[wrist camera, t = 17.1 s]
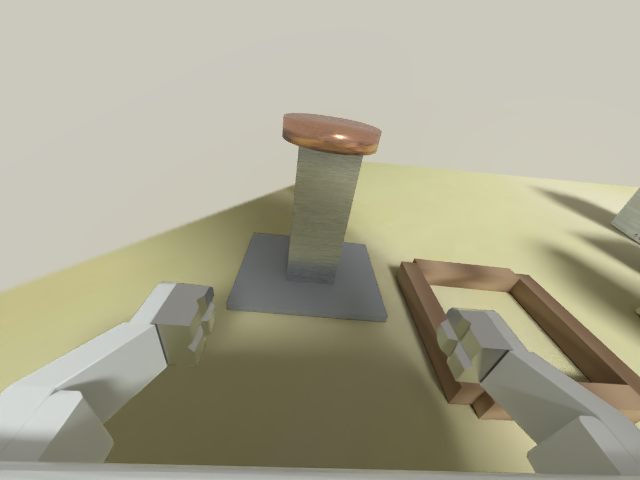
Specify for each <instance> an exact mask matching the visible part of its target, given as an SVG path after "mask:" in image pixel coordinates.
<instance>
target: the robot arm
mask: <svg viewBox="0 0 640 480" xmlns="http://www.w3.org/2000/svg"><path fill="white" fill-rule="evenodd" d="M213 296H214V292H213V287H211V286H202V285H193V284H184V283H172V282H164V281H163V282H161V283H159V284H158V285H157V286H156V287H155V289H154V290H153V291H152V293H151V294H150V295H149V296H148V298H147V299H146V300H145V302H144V303H143V304H142V306H141V307H140V308H139V310H138V311H137V312H136V314H135V315H134V316H133V317H132V319H131V320H130V321H129V323H127V322H123V323H121V324H119V325H117V326H116V327H114V328H112V329H110V330H108V331H107V332H105V333H103V334H101V335H99V336H98V337H96V338H94V339H92V340H90V341H89V342H87V343H85V344H83V345H81V346H80V347H78V348H76V349H74V350H72V351H71V352H69V353H67V354H65V355H63V356H62V357H60V358H58V359H56V360H54V361H53V362H51V363H49V364H47V365H45V366H43V367H42V368H40V369H38V370H36V371H34V372H33V373H31V374H29V375H27V376H25V377H24V378H22V379H20V380H18V381H16V382H15V383H13V384H11V385H9V386H8V387H7V388H6V389H5V390H4V391H3V392H2V393H1V394H0V480H640V430H639V429H638V428H637V427H636V426H635V425H634V423H633V422H632V421H631V420H630V419H629V418H628V417H627V416H626V415H624V414H623V413H621V412H620V411H618V410H617V409H615V408H614V407H612V406H611V405H609V404H608V403H607V402H605V401H604V400H602V399H601V398H599V397H598V396H596V395H595V394H593V393H592V392H591V391H589V390H588V389H586V388H585V387H583V386H582V385H580V384H579V383H577V382H576V381H574V380H573V379H572V378H570V377H569V376H567V375H566V374H564V373H563V372H561V371H560V370H558V369H557V368H556V367H554V366H553V365H551V364H550V363H548V362H547V361H545V360H544V359H542V358H541V357H539V356H538V355H537V354H535V353H534V352H529V351H528V350H527V349H526V347H525V346H524V345H523V344H522V342H521V341H520V340H519V339H518V337H517V336H516V335H515V334H514V332H513V331H512V330H511V329H510V327H509V326H508V325H507V323H506V322H505V321H504V320H503V318H502V317H501V316H500V315H499V314H498V313H497V312H495V311H490V310H477V309H464V308H451V309H449V310H448V312H447V314H446V317H447V320H445V321H444V322H442V323H441V324H440V326H439V328H438V329H437V341H438V344H439V347H440V349H441V351H443V352H444V353H445V354H446V355H447V356H448V359H447V364H448V366H449V368H450V370H451V372H452V374H453V376H454V379H455V381H458V382H469V383H481V384H480V386H481V387H482V388H483V389H484V390H485V391H486V392H487V393H488V394H489V395H490V396H491V397H492V398H493V399H494V400H495V401H496V402H497V403H498V404H499V405H500V406H501V407H502V408H503V409H504V411H505V412H506V413H507V414H508V415H509V416H510V417H511V418H512V419H513V420H514V421H515V422H516V423H517V424H518V425H519V426H520V427H521V428H522V429H523V430H524V431H525V432H526V433H527V434H528V435H529V436H530V438H531V439H532V440H533V441H534V442H535V443H536V444H537V446H535V447H534V448H532V449H531V450H530V451H528V453H527V458H528V460H529V462H530V464H531V465H532V467H533V469H534V471H535V473H501V472H460V471H419V470H378V469H337V468H296V467H254V466H212V465H171V464H129V463H104V462H105V460H106V458H107V457H108V455H109V453H110V451H111V449H112V447H113V445H114V442H113V438H112V437H111V435H110V434H109V433H108V431H107V430H106V428H105V427H104V425H103V424H104V423H105V422H106V421H108V420H109V419H110V418H111V417H112V416H113V415H114V414H115V413H116V412H118V411H119V410H120V409H121V408H122V407H123V406H124V405H125V404H126V403H128V402H129V401H130V400H131V399H132V398H133V397H134V396H135V395H136V394H138V393H139V392H140V391H141V390H142V389H143V388H144V387H145V386H146V385H148V384H149V383H150V382H151V381H152V380H153V379H154V378H155V377H156V376H158V375H159V374H160V373H161V372H162V371H163V370H164V369H165V368H166V367H167V365H186V366H197V365H198V362H199V360H200V357H201V355H202V353H203V350H204V348H205V342H204V338H205V337H207V336H208V335H209V334H210V333H211V330H212V328H213V324H214V320H215V311H216V310H215V304H214V303H213V302H212V299H213Z"/></svg>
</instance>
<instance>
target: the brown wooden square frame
mask: <svg viewBox="0 0 640 480" xmlns="http://www.w3.org/2000/svg"><path fill="white" fill-rule="evenodd" d="M396 277H397V280H398V282H399V285H400V287H401V289H402V292H403V294H404V297H405V299H406V301H407V304H408V306H409V309H410V311H411V314H412V316H413V318H414V321H415V323H416V326H417V328H418V330H419V333H420V335H421V338H422V340H423V342H424V345H425V347H426V350H427V352H428V354H429V357H430V359H431V362H432V364H433V367H434V369H435V371H436V374H437V376H438V379H439V381H440V383H441V386H442V388H443V391H444V393H445V395H446V398H447V400H448V403H449V404H469V405H473V407H474V409H475V411H476V413H477V415H478V417H479V419H495V420H513V419H512V418H511V417H510V416H509V415H508V414H507V413H506V412H505V411H504V409H503V408H502V407H501V406H500V405H499V404H498V403H497V402H496V401H495V400H494V399H493V398H492V397H491V396H490V395H489V394H488V393H487V392H486V391H485V390H484V389H483V388H482V387H481V386H480V384H481V383H469V382H458V381H455V379H454V376H453V374H452V372H451V370H450V368H449V366H448V364H447V359H448V356H447V355H446V354H445V353H444V352H443V351H441V349H440V347H439V344H438V341H437V329H438V328H439V326H440V324H441V323H442V322H444V321H445V320H447V317H446V314H445V313H444V311H443V309H442V307H441V305H440V304H439V302H438V300H437V298H436V296H435V295H434V293H433V291H432V289H431V287H430V286H429V285H438V286H449V287H459V288H470V289H480V290H490V291H501V292H510V293H511V294H512V295H513V297H514V298H515V299H516V300H517V301H518V302H519V303H520V304H521V305H522V306H523V308H524V309H525V310H526V311H527V312H528V313H529V314H530V315H531V316H532V317H533V318H534V320H535V321H536V322H537V323H538V324H539V325H540V326H541V327H542V328H543V329H544V331H545V332H546V333H547V334H548V335H549V336H550V337H551V338H552V339H553V340H554V341H555V343H556V344H557V345H558V346H559V347H560V348H561V349H562V350H563V351H564V352H565V354H566V355H567V356H568V357H569V358H570V359H571V360H572V361H573V362H574V363H575V365H576V366H577V367H578V368H579V369H580V370H581V371H582V372H583V373H584V374H585V375H586V377H587V378H588V379H589V380H590V381H591V382H592V383H588V382H577V383H579V384H580V385H582V386H583V387H585V388H586V389H588V390H589V391H591V392H592V393H593V394H595V395H596V396H598V397H599V398H601V399H602V400H604V401H605V402H607V403H608V404H609V405H611V406H612V407H614V408H615V409H617V410H618V411H620V412H621V413H623V414H624V415H626V416H627V417H628V418H629V419H630V420H631V421H632V422H633V423H634V424H635V423H637V422H639V421H640V377H639V376H638V375H637V374H636V373H635V372H633V371H632V370H631V369H630V368H629V367H628V366H627V365H626V364H625V363H624V362H623V361H622V360H620V359H619V358H618V357H617V356H616V355H615V354H614V353H613V352H612V351H611V350H610V349H608V348H607V347H606V346H605V345H604V344H603V343H602V342H601V341H600V340H599V339H598V338H597V337H595V336H594V335H593V334H592V333H591V332H590V331H589V330H588V329H587V328H586V327H585V326H583V325H582V324H581V323H580V322H579V321H578V320H577V319H576V318H575V317H574V316H573V315H571V314H570V313H569V312H568V311H567V310H566V309H565V308H564V307H563V306H562V305H561V304H560V303H558V302H557V301H556V300H555V299H554V298H553V297H552V296H551V295H550V294H549V293H548V292H546V291H545V290H544V289H543V288H542V287H541V286H540V285H539V284H538V283H537V282H536V281H534V280H533V279H532V278H531V277H530V276H529V275H524V274H514V273H513V272H512V271H511V270H510V269H508V268H498V267H489V266H479V265H470V264H460V263H451V262H441V261H432V260H422V259H414V261H413V263H408V262H402V263H401V265H400V268H399V270H398V273H397V276H396Z"/></svg>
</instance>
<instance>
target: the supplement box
mask: <svg viewBox="0 0 640 480" xmlns="http://www.w3.org/2000/svg"><path fill="white" fill-rule="evenodd" d="M610 224H611V225H613V226H614V227H616V228H617V229H619V230H620V231H621V232H623V233H624V234H626V235H627V236H629V237H630V238H632V239H633V240H635V241H636V242H638V243H639V244H640V188H639V189H638V190H637V192H636V193H635V194H634V195H633V196H632V198H631V199H630V200H629V201H628V202H627V204H626V205H625V206H624V207H623V209H622V210H621V211H620V212H619V213H618V214H617V216H616V217H615V218H614V219H613V221H612V222H611V223H610Z"/></svg>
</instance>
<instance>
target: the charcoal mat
mask: <svg viewBox="0 0 640 480" xmlns="http://www.w3.org/2000/svg"><path fill="white" fill-rule="evenodd" d="M289 247H290V236H282V235H273V234H264V233H254V234H253V236H252V239H251V241H250V244H249V247H248V249H247V252H246V254H245V257H244V260H243V262H242V265H241V267H240V270H239V273H238V275H237V278H236V280H235V283H234V286H233V288H232V291H231V293H230V296H229V299H228V301H227V309H228V310H241V311H253V312H266V313H278V314H291V315H303V316H315V317H328V318H340V319H353V320H365V321H378V322H386V319H387V314H386V310H385V307H384V304H383V301H382V297H381V294H380V291H379V288H378V284H377V281H376V278H375V275H374V271H373V268H372V265H371V262H370V259H369V255H368V252H367V249H366V246H365V244H355V243H346V242H343V246H342V250H341V255H340V259H339V263H338V268H337V272H336V276H335V281H334V285H327V284H316V283H305V282H294V281H286V278H287V268H288V257H289Z"/></svg>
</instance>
